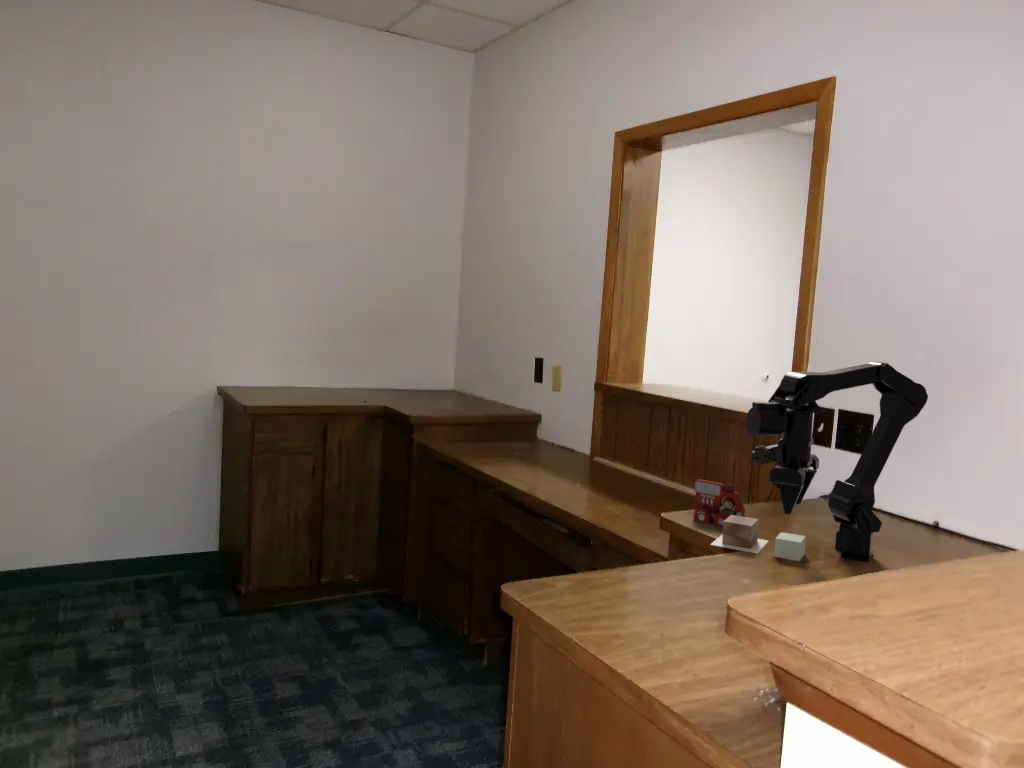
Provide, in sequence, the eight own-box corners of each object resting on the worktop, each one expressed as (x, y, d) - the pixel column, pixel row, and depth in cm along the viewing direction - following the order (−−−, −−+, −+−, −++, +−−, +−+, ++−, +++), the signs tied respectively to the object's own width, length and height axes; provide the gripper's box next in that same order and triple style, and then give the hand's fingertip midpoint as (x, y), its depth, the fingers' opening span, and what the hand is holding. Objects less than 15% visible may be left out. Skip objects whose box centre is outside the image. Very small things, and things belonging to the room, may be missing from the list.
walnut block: (757, 541, 175) (758, 519, 174) (750, 548, 169) (751, 526, 169) (730, 536, 178) (731, 514, 177) (722, 543, 173) (723, 521, 172)
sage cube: (804, 559, 167) (805, 536, 166) (799, 566, 163) (800, 542, 162) (779, 554, 169) (781, 532, 169) (774, 561, 165) (775, 538, 164)
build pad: (768, 545, 175) (769, 540, 175) (757, 557, 167) (757, 553, 167) (723, 537, 180) (723, 532, 180) (710, 549, 172) (710, 544, 172)
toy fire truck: (736, 534, 183) (738, 489, 182) (686, 523, 191) (688, 480, 190) (748, 527, 189) (750, 484, 187) (699, 517, 196) (701, 475, 195)
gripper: (768, 423, 175) (764, 493, 177) (744, 437, 159) (741, 513, 161) (821, 429, 169) (817, 500, 171) (803, 443, 153) (798, 522, 155)
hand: (792, 508), depth 165 cm, fingers open, 9 cm apart
